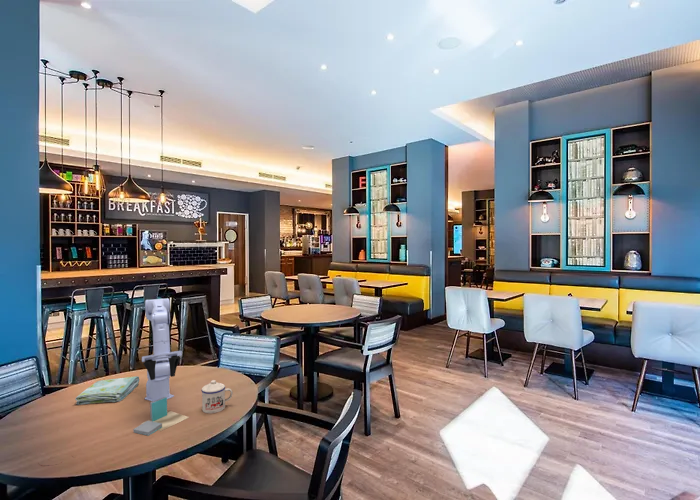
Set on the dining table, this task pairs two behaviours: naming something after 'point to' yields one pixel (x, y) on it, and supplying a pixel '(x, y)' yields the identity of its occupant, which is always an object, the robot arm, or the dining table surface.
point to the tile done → (147, 428)
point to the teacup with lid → (214, 397)
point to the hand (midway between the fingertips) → (162, 378)
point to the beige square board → (170, 420)
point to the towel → (108, 390)
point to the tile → (158, 409)
